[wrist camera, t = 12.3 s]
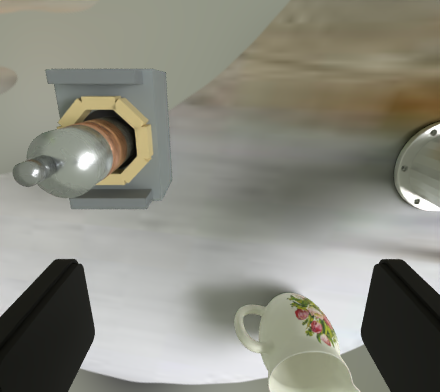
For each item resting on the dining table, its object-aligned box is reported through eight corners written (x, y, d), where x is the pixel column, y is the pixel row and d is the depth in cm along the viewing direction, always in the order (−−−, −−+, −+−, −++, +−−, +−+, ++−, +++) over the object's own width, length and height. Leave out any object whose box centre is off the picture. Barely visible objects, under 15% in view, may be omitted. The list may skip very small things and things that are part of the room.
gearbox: (165, 72, 37) (145, 67, 27) (172, 180, 42) (156, 210, 32) (85, 72, 37) (33, 67, 27) (100, 180, 42) (62, 210, 32)
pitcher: (248, 261, 47) (258, 328, 34) (346, 300, 49) (391, 377, 36) (218, 312, 50) (218, 391, 37) (312, 347, 53) (341, 432, 40)
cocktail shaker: (133, 115, 31) (76, 134, 19) (139, 163, 33) (89, 210, 20) (84, 116, 31) (-6, 135, 19) (92, 163, 33) (14, 211, 20)
